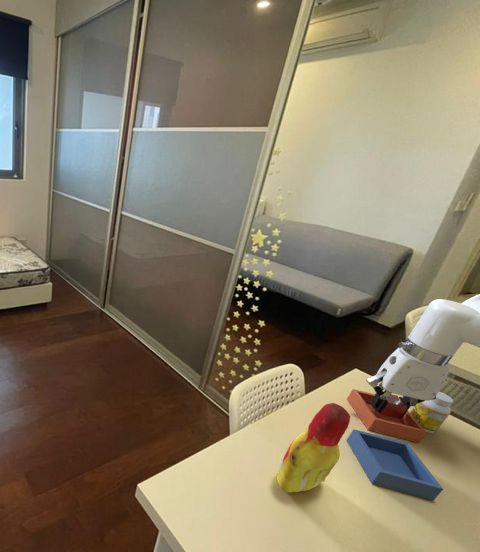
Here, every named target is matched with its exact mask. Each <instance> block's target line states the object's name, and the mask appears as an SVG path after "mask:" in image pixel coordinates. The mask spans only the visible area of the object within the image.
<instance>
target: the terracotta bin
mask: <svg viewBox="0 0 480 552" xmlns="http://www.w3.org/2000/svg"><path fill="white" fill-rule="evenodd" d="M375 394H376V393H371V392H367V391H363V390H359V389H355V388H352V390H351V391H350V393H349V394H348V396H347V397H346V400H347V402H348V403H349V405H350V406H351V407H352V409H353V410H354V411H355V413H356V414H357V416H358V418H359V419H360V420H361V422H362V424H363V425H364V426H365V428H366V429H367V431H370V432H375V433H378V434H382V435H386V436H390V437H393V438H398V439H402V440H406V441H410V442H413V443H417V444H419V443H420V442H421V441H422V439H423V438H424V437H425V436H426V434H427V433H428V432H426V431H425V430H424V428H423V427H422V426H421V425H420V424H419V423H418V422H417V420H416V419H415V418H414V417H413V416H412V415H411V414H410V412H411V411H409V410H408V411H407V412H406V414H405V415H404V416H403V418H400V419H396V418H392V417H388V416H384V415H381V414H380V413H379V412H376V411H375V409H374V408H373V407H372V405H371V404H370V402H371V400H372V398H373V397H374V395H375Z"/></svg>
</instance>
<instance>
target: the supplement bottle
mask: <svg viewBox="0 0 480 552" xmlns="http://www.w3.org/2000/svg"><path fill="white" fill-rule="evenodd" d="M453 403H454V400H453V398H451V397H450V396H449V395H447V394H446V393H444V392H441V391H439V392H438V394H437V395H436V399H434V400H429V401H426V400H425V401H424V402H421V403H417V404H416V406H413V407H412V409H411V411H409V412H410V414H411V415H412V416H413V417H414V418H415V419H416V420H417V422H418V423H419V424H420V425H421V426H422V427H423V428H424V430H425V431H426V432H427V433H429V434H435V433H436V432H437V431H438V430H439V428H440V427H441V426H442V425H443V424H444V422H446V419H447V418H448V417H449V415H450V414H451V413H452V409H451V406H452V405H453Z"/></svg>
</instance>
